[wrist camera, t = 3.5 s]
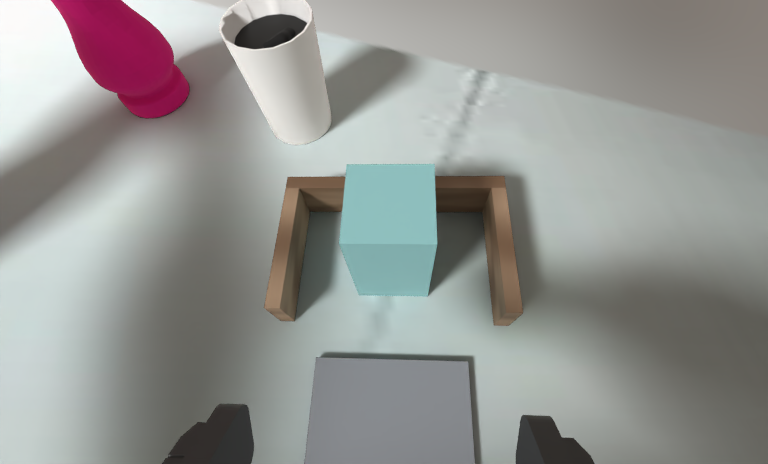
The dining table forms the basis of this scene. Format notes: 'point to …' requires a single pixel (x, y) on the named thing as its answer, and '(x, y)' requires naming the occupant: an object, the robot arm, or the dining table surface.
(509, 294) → the walnut cubby
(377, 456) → the slate mat
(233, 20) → the white paper cup
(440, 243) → the dining table surface
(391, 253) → the teal block
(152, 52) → the pepper mill
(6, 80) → the dining table surface
